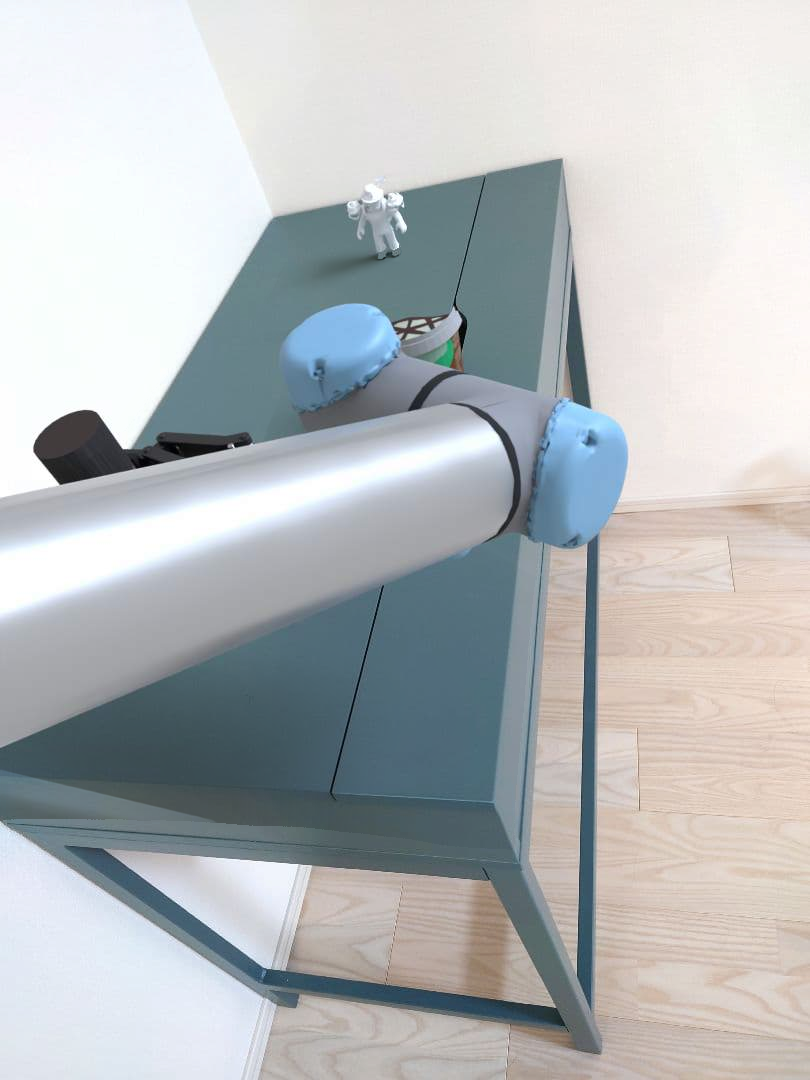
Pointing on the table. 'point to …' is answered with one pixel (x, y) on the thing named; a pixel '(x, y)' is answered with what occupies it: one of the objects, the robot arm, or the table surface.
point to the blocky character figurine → (378, 214)
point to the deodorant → (80, 448)
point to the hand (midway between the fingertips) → (68, 491)
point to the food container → (432, 339)
